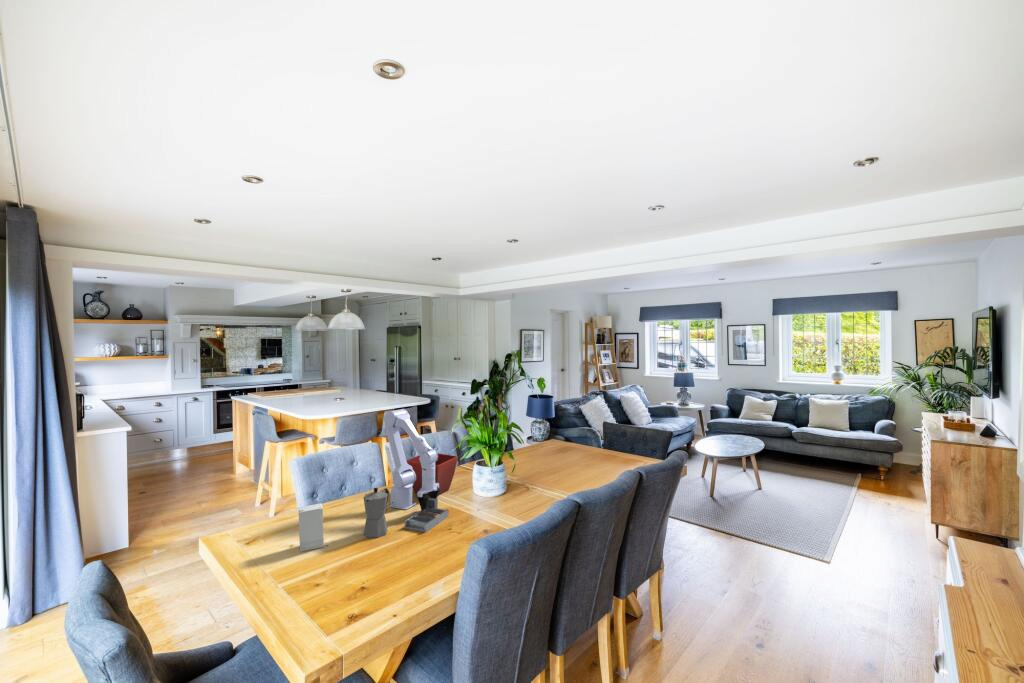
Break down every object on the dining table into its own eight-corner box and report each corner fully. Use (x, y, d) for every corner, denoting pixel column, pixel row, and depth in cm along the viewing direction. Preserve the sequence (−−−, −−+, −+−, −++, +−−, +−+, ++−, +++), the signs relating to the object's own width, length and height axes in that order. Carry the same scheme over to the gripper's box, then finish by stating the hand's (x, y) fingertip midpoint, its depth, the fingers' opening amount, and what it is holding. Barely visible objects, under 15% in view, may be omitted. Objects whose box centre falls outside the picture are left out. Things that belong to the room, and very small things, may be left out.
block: (420, 512, 205) (421, 498, 205) (423, 510, 207) (423, 496, 207) (434, 514, 202) (434, 500, 202) (437, 512, 205) (437, 498, 205)
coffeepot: (376, 541, 175) (376, 494, 174) (355, 538, 177) (355, 491, 177) (398, 526, 189) (398, 482, 189) (378, 523, 192) (378, 480, 192)
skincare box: (322, 541, 175) (322, 502, 175) (323, 548, 169) (324, 507, 169) (298, 545, 171) (298, 505, 171) (298, 552, 166) (298, 511, 165)
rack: (404, 528, 187) (404, 519, 187) (428, 513, 203) (428, 504, 203) (425, 532, 183) (425, 523, 183) (448, 516, 200) (448, 507, 200)
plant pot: (436, 500, 219) (437, 465, 219) (404, 494, 227) (404, 460, 227) (458, 488, 236) (458, 456, 236) (427, 483, 245) (427, 451, 244)
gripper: (427, 483, 196) (426, 515, 196) (444, 474, 210) (444, 504, 210) (413, 481, 199) (413, 512, 199) (431, 472, 212) (431, 502, 212)
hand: (428, 508), depth 204 cm, fingers open, 7 cm apart
